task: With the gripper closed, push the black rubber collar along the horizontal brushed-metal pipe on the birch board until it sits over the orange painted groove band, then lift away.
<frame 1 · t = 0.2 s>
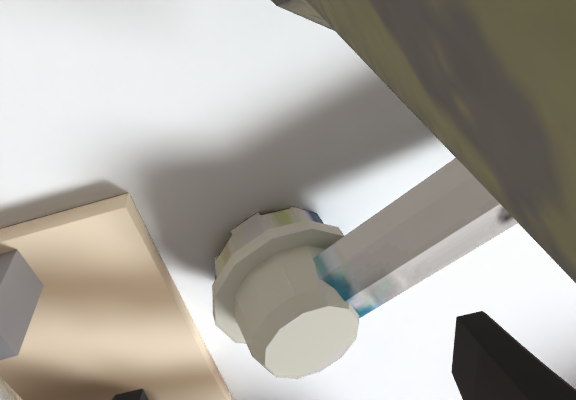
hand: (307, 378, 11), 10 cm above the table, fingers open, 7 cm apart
toothbrush head: (463, 135, 21), on the table
pipe rig: (94, 381, 25), on the table
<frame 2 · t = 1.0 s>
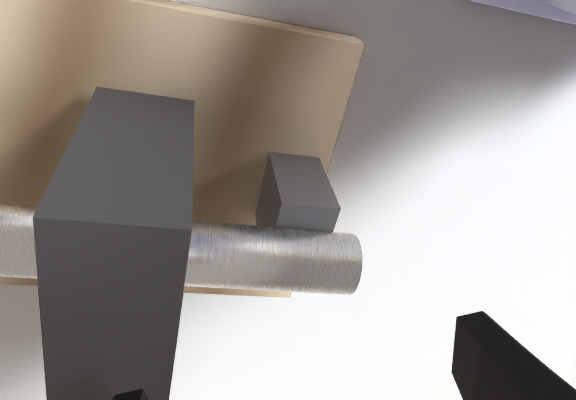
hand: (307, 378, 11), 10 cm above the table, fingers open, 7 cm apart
pipe rig: (63, 150, 18), on the table
rubber collar: (129, 248, 14), point 5 cm above the table, slide at 0.0 cm
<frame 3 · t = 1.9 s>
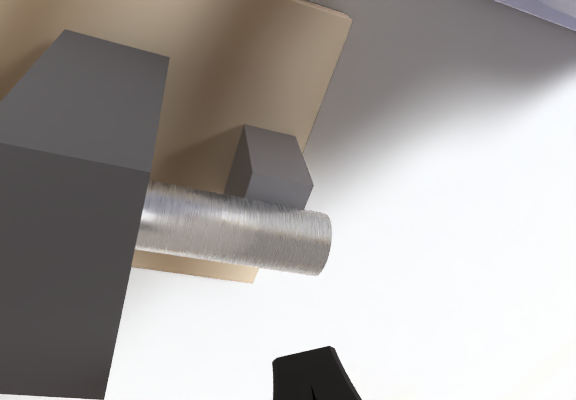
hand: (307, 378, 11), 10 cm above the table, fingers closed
pipe rig: (23, 100, 17), on the table
rubber collar: (83, 204, 13), point 5 cm above the table, slide at 0.0 cm
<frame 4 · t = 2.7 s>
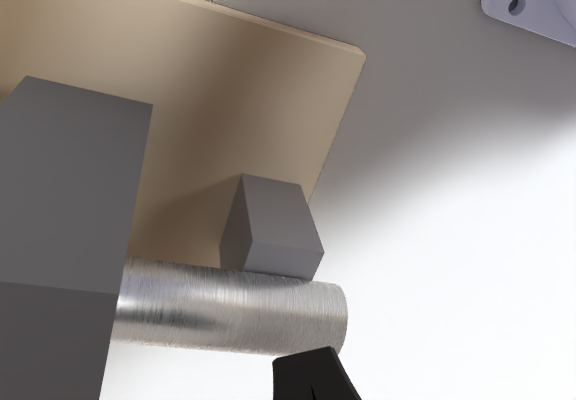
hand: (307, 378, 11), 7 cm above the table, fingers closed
rubber collar: (47, 290, 11), point 5 cm above the table, slide at 0.0 cm
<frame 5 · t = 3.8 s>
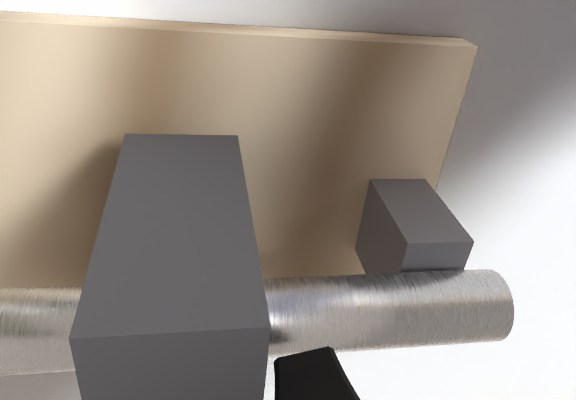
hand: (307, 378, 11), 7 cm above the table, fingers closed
pipe rig: (143, 202, 16), on the table
rubber collar: (183, 321, 12), point 6 cm above the table, slide at 1.6 cm, touching gripper
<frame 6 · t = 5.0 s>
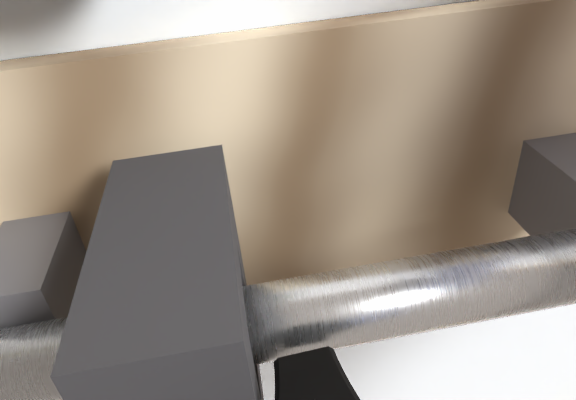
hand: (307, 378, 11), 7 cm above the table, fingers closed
pipe rig: (303, 196, 17), on the table
rubber collar: (191, 335, 12), point 6 cm above the table, slide at 7.0 cm, touching gripper
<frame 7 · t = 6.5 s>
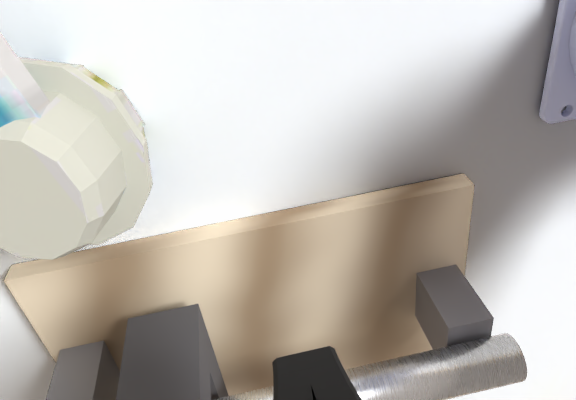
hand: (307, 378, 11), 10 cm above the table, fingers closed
pipe rig: (265, 312, 24), on the table
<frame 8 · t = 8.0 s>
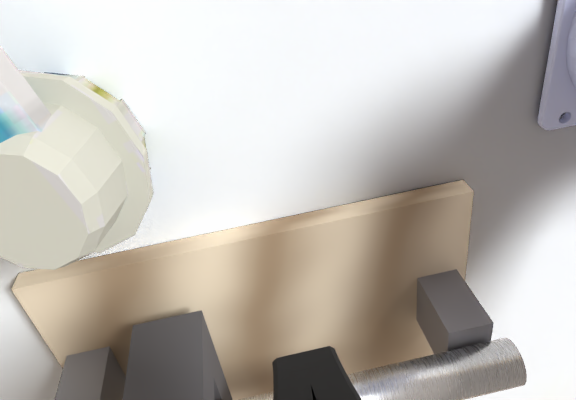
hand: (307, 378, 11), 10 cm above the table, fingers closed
pipe rig: (268, 317, 25), on the table
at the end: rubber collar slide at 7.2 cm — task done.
